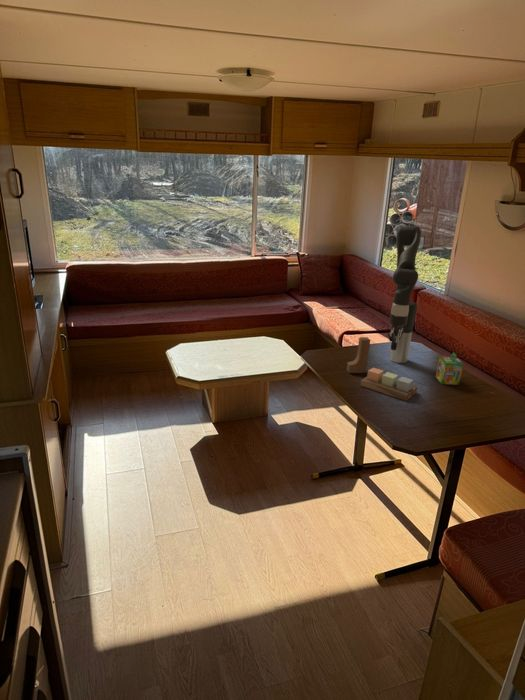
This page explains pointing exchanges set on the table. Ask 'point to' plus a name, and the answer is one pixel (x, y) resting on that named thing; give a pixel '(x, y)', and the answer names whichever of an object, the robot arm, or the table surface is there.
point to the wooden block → (360, 357)
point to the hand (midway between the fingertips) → (393, 349)
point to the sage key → (389, 379)
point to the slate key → (404, 384)
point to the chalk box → (449, 370)
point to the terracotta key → (375, 375)
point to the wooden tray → (388, 389)
